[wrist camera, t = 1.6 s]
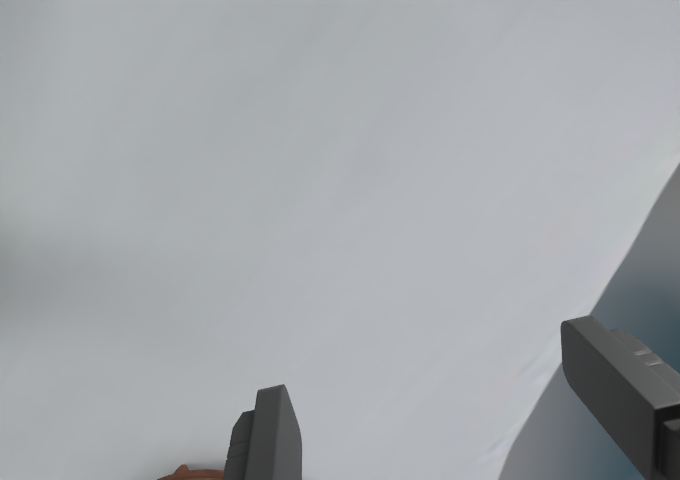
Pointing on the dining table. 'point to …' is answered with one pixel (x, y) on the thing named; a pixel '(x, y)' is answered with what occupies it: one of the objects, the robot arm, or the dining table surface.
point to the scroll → (194, 474)
